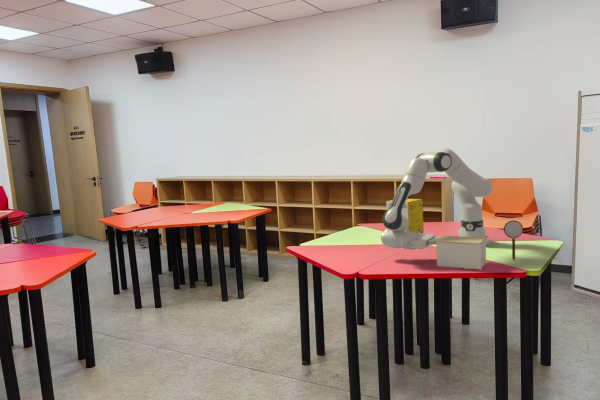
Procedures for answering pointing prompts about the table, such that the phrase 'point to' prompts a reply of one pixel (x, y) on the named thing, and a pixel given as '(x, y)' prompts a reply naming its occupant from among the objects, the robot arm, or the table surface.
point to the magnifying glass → (513, 233)
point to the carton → (461, 255)
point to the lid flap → (458, 239)
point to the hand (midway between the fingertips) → (439, 242)
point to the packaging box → (412, 214)
